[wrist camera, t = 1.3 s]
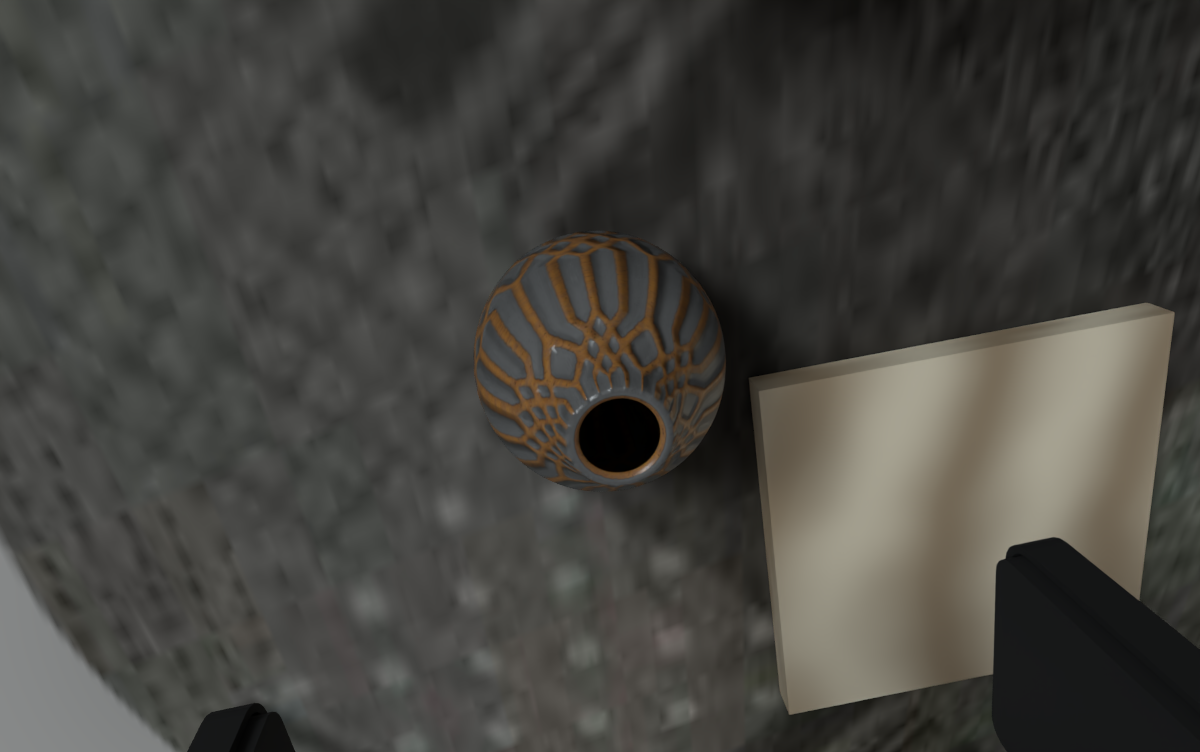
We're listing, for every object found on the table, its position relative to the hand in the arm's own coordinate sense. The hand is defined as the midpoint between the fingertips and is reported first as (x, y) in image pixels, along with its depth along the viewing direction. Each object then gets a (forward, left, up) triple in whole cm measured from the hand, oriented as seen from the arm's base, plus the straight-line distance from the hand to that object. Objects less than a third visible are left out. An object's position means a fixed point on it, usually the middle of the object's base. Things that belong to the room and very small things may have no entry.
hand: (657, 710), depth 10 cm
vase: (0, 0, -16) cm, 16 cm away
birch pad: (-12, +10, -16) cm, 22 cm away
